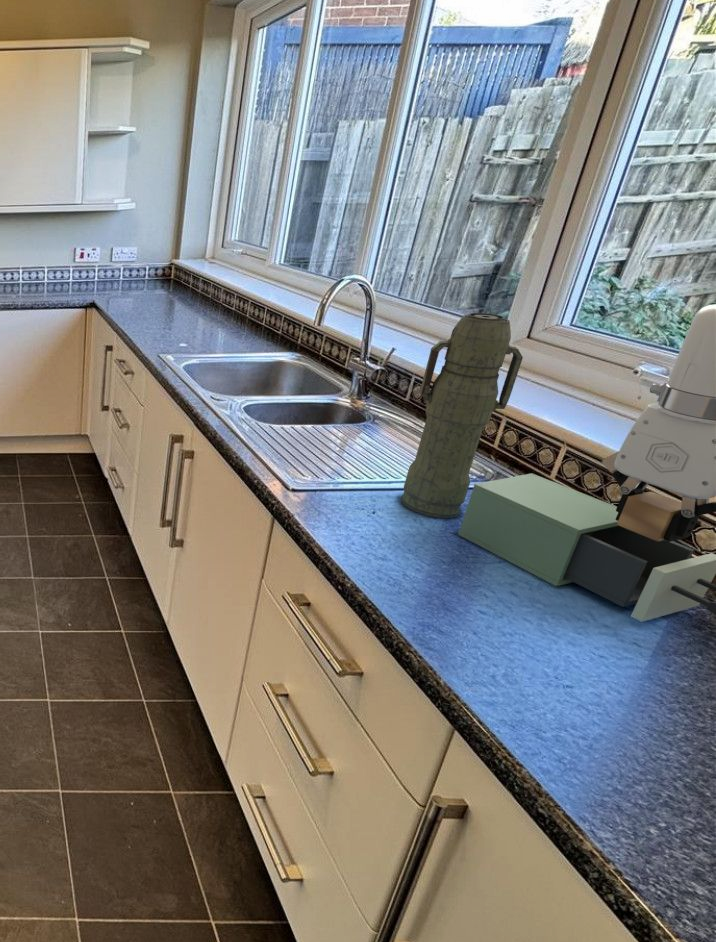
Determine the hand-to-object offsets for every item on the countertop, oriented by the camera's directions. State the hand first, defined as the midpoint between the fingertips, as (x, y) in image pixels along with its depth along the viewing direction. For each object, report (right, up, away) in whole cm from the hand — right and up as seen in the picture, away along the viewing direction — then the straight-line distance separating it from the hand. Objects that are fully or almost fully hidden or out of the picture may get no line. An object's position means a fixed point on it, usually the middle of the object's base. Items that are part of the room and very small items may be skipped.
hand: (649, 527), depth 84 cm
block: (0, 0, 0) cm, 0 cm away
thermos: (-9, -1, +28) cm, 29 cm away
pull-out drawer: (0, -10, +3) cm, 10 cm away
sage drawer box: (-3, -6, +14) cm, 16 cm away
